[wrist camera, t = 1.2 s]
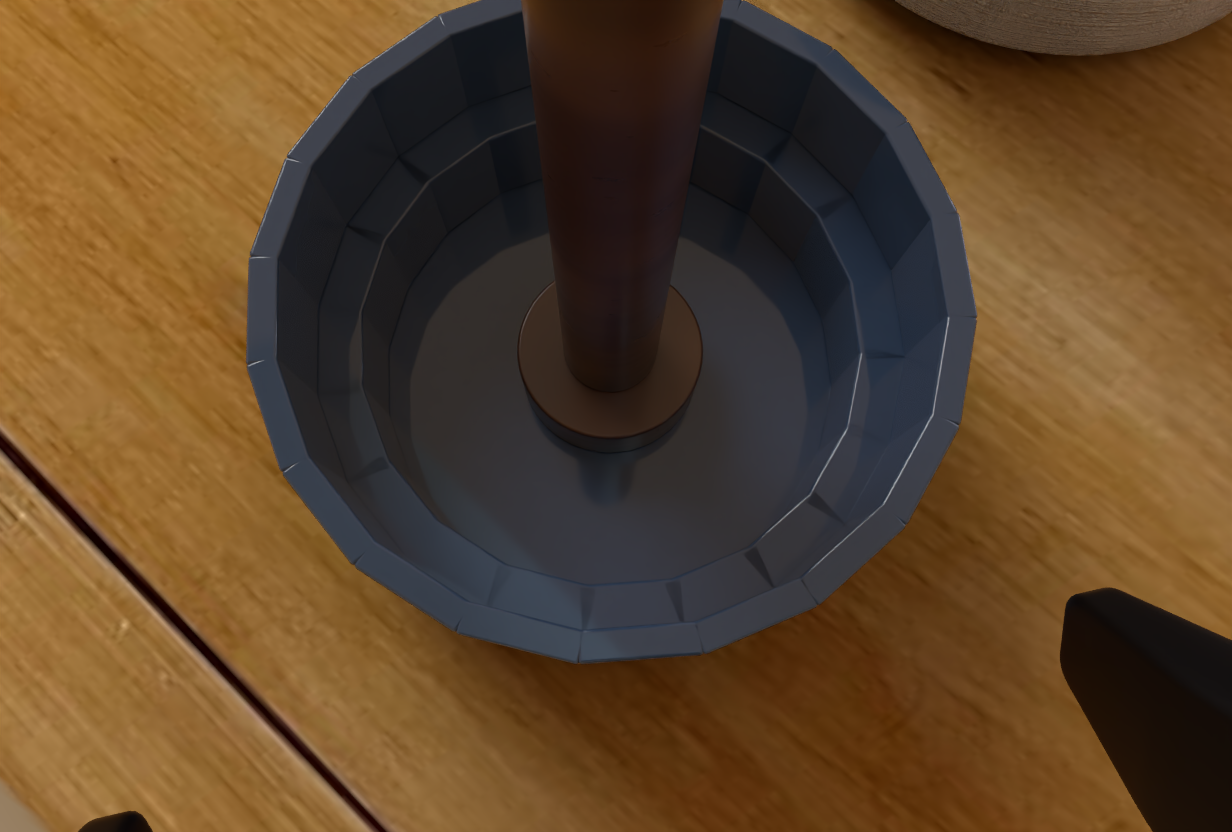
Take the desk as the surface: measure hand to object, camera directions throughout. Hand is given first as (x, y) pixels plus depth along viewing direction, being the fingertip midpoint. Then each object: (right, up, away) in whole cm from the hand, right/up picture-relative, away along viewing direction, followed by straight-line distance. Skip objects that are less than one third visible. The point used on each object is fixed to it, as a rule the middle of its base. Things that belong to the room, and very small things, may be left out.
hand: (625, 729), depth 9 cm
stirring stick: (0, +4, +15) cm, 15 cm away
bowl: (0, +4, +15) cm, 16 cm away
